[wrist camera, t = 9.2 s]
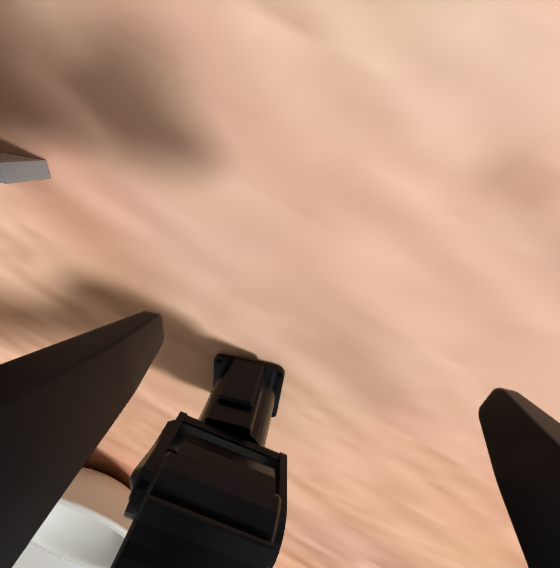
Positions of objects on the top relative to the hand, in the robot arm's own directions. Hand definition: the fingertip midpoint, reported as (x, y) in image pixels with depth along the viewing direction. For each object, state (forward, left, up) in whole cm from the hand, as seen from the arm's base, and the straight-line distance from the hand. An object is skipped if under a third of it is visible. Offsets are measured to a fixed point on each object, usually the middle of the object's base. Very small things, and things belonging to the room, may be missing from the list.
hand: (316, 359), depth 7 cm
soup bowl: (-46, +25, -12) cm, 54 cm away
